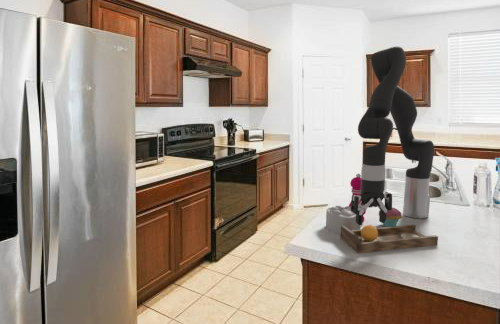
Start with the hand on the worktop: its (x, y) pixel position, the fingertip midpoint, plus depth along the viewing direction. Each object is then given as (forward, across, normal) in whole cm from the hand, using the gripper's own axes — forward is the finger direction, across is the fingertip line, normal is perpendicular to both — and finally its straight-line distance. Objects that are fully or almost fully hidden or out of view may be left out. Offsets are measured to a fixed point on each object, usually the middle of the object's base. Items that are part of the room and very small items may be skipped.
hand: (370, 223), depth 113 cm
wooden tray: (+8, -7, 0) cm, 10 cm away
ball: (+4, 0, 0) cm, 4 cm away
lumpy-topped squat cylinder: (+8, +3, -15) cm, 17 cm away
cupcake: (+8, -18, -15) cm, 25 cm away
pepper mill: (+8, -8, -23) cm, 26 cm away
